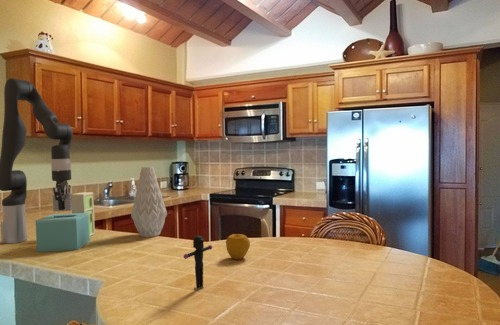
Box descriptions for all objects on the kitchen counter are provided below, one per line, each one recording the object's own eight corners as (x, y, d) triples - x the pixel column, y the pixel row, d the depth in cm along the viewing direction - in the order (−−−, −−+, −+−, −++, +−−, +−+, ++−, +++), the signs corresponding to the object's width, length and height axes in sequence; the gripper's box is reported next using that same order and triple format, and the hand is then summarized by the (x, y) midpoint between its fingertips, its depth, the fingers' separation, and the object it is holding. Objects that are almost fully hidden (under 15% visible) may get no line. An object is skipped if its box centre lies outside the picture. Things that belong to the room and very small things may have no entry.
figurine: (207, 281, 113) (205, 231, 113) (217, 283, 111) (216, 232, 111) (180, 294, 103) (178, 239, 102) (191, 297, 101) (189, 241, 100)
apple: (253, 255, 140) (252, 231, 139) (245, 262, 132) (244, 236, 131) (231, 254, 142) (230, 230, 142) (222, 260, 134) (221, 235, 134)
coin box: (37, 252, 156) (35, 220, 155) (53, 242, 171) (51, 214, 171) (77, 249, 157) (76, 218, 157) (89, 241, 173) (88, 212, 173)
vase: (125, 236, 181) (122, 167, 181) (155, 230, 193) (152, 166, 193) (144, 240, 170) (141, 167, 169) (174, 234, 182) (172, 166, 181)
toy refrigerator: (86, 238, 180) (84, 194, 179) (72, 237, 181) (70, 194, 181) (96, 234, 188) (94, 192, 187) (83, 234, 189) (81, 192, 189)
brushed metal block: (53, 211, 162) (52, 195, 162) (56, 210, 165) (55, 194, 165) (70, 210, 163) (69, 194, 163) (72, 209, 166) (72, 193, 166)
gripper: (58, 169, 170) (60, 207, 171) (45, 170, 156) (47, 212, 157) (76, 168, 171) (77, 206, 171) (64, 169, 157) (66, 211, 157)
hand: (63, 209), depth 164 cm, fingers closed on brushed metal block, 3 cm apart
